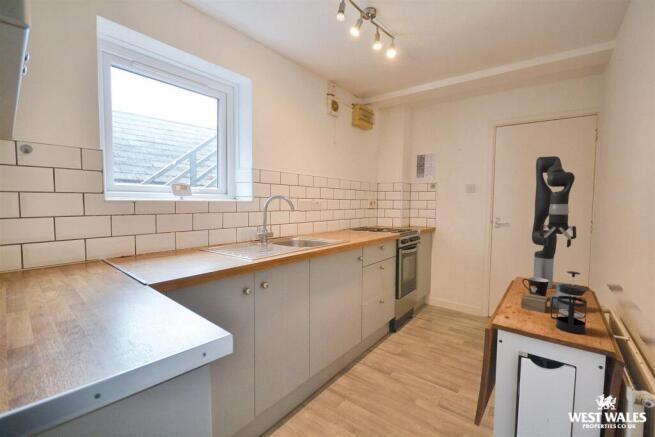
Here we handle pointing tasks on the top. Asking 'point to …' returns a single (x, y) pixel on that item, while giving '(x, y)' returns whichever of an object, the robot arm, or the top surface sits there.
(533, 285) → the coffee mug
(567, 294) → the teal rectangular block
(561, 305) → the stand
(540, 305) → the stand
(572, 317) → the french press
